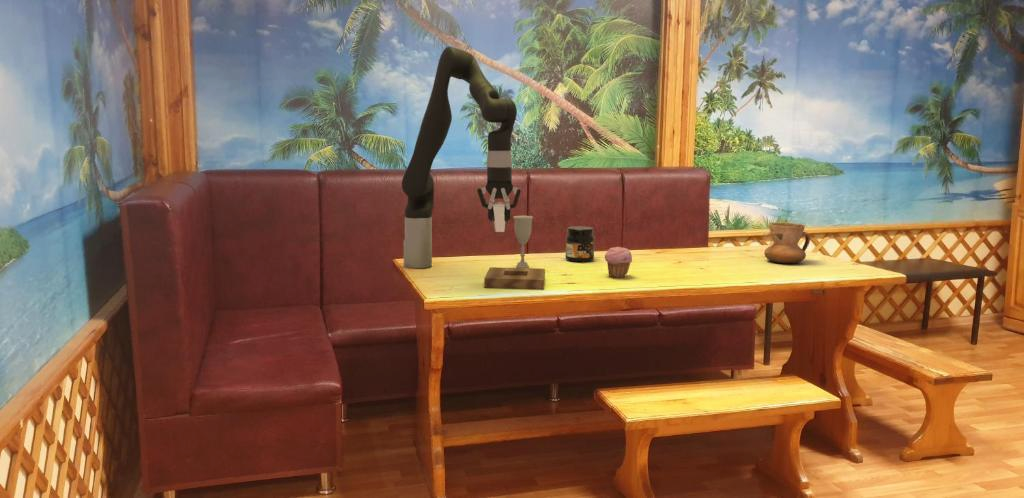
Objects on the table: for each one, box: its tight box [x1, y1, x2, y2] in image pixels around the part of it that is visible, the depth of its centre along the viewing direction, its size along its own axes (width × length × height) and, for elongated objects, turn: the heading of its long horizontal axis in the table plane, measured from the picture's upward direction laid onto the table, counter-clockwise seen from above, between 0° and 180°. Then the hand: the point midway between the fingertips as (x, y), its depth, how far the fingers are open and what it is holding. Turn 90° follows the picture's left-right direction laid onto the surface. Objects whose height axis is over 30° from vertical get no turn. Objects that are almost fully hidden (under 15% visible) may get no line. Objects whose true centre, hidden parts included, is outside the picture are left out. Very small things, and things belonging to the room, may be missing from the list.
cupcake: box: [604, 246, 633, 279], centre depth 262 cm, size 9×9×10 cm
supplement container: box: [565, 225, 596, 263], centre depth 291 cm, size 10×10×12 cm
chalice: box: [512, 215, 534, 268], centre depth 272 cm, size 7×7×18 cm
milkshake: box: [488, 199, 507, 233], centre depth 246 cm, size 4×5×10 cm
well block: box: [483, 266, 546, 290], centre depth 251 cm, size 18×18×3 cm
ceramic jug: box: [763, 221, 811, 265], centre depth 293 cm, size 18×14×14 cm
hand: (499, 221), depth 246 cm, fingers closed on milkshake, 4 cm apart
